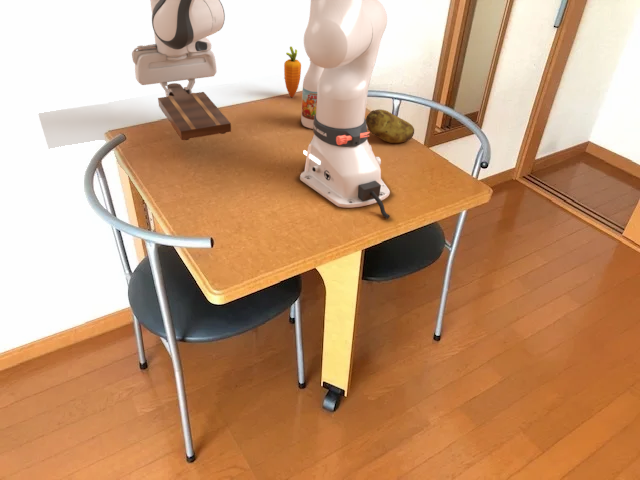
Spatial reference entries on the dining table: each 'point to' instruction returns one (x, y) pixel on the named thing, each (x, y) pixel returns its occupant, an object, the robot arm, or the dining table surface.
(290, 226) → the dining table surface
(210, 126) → the cutting board
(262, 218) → the dining table surface
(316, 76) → the milk bottle
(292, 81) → the carrot
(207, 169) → the dining table surface
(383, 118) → the potato
